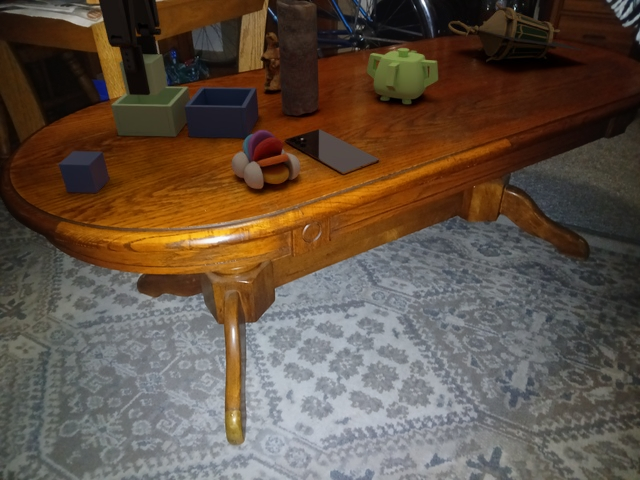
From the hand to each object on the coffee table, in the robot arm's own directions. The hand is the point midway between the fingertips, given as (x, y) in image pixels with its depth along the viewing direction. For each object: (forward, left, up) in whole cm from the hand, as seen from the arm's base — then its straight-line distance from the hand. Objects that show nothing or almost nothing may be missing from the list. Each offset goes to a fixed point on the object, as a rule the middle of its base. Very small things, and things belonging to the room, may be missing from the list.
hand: (146, 87), depth 74 cm
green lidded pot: (+39, +35, -13) cm, 54 cm away
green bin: (-7, +17, -13) cm, 22 cm away
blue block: (-9, -7, -13) cm, 17 cm away
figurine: (+12, +38, -13) cm, 42 cm away
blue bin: (+6, +17, -13) cm, 22 cm away
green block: (0, 0, 0) cm, 0 cm away
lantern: (+67, +65, -13) cm, 94 cm away
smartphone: (+26, +7, -13) cm, 30 cm away
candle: (+19, +26, -13) cm, 35 cm away
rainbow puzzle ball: (+17, -3, -13) cm, 22 cm away
